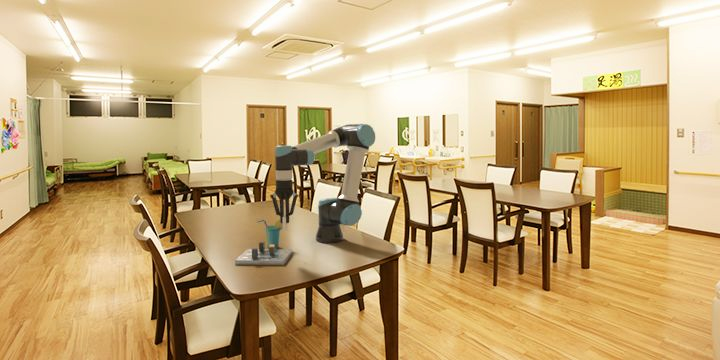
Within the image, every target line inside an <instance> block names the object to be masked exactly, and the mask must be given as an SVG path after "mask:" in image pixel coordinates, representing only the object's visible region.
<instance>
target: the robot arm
mask: <svg viewBox="0 0 720 360" xmlns="http://www.w3.org/2000/svg"><path fill="white" fill-rule="evenodd" d="M375 141H376V132H375V130H374V128H373V127H372V126H371V125H369V124H367V123H359V124H358V123H352V124H345V125H342V126H339V127H336V128H334V129H332V130H329V131H328V133H326V134H324V135H323V134H322V135H321V136H318V137H315V138H313V139H309V140H306V141H304V142H301V143H299V144H295V145H293V146H292V145H276V146H275V149H274V151H275V152H274V160H275V161H274V163H275V164H274V165H275V179H276V180H275V191H274V193H272V194H270V196H269V197H270V198H271V200H272V203H273V207H274V211H275V214H276V216H279V220H280V222H281V223H283V229H282V231H283V232H285V231H287V230H288V224H289V223H290V216H292V215H293V214H294V211H295V207H296V203H297V199H298V197H299V196H300V195H299V194H297V193H296V192H295V191H294V189H293V188H294V187H293V186H294V185H293V167H294V166H295V167H296V166H297V167H298V166H310V165H313V163H314V162H315V154H319V153H320V152H323V151H325V150H328V149H330V148H339V147H344V146H346V148H347V150H348V155H347V161H346V167H345V172H344V178H343V182H342V188H341V194H340V195H339V196H338V197H331V198H330V197H329V198H322V199H319V200H318V206H317V207H318V209H317V210H318V211H317V212H318V228H317V231H316V234H315V241H316V242H318V243H324V244H329V243H330V244H331V243H333V244H334V243H338V242H342V241H344V234H343V231H342V228H341V225H343V226H349V227H353V226H355V225H356V224H358V223H359V221H360V220H361V218H362V214H363V213H362V212H363V211H362V208H361V206H360V204H359V203H360V200H359V198H358V195H359V189H360V183H361V179H362V178H361V177H362V172H363V166H364V161H365V157H366V154H367V153H368V152H369V150H370V147H371V146H373V145H374V144H375ZM291 197H292V201H291V204H290V199H291ZM277 198H278V199H279V204H278V200H277ZM284 202H285V203H284ZM290 205H291V206H290ZM284 208H285V209H284ZM284 210H285V211H284Z"/></svg>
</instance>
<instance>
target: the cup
mask: <svg viewBox="0 0 720 360" xmlns="http://www.w3.org/2000/svg"><path fill="white" fill-rule="evenodd" d="M261 222H262V223H264V225H265V228H264V230H265V232H266V233H265V235H266V242H267V249H269V246H270V245H275V249H278V248H279V245H280V231H281V230H283V223H281V222H280V219H279V220H276V222H275V223H274V225H268V224H267V221H266V219H260V220H257V221H256V223H261Z"/></svg>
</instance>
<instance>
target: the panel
mask: <svg viewBox="0 0 720 360" xmlns="http://www.w3.org/2000/svg"><path fill="white" fill-rule="evenodd" d="M265 243H266V242H265V241H259V242H258V247H253V248H247V249H246V250H245V251H244V252H243V253H241V254H240V255H239V256H238V257H237V258H235V260H234V265H239V266H241V265H242V266H243V265H245V266H250V265H251V266H255V265H256V266H285V264H287V262H288V260H289V259H290V257H291V256H292V255H293V249H288V248H287V249H285V248H284V249H283V248H282V249H281V248H279V249H278V248H275V254H274V255H269V248H265V247H266V246H265Z"/></svg>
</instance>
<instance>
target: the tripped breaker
mask: <svg viewBox="0 0 720 360" xmlns="http://www.w3.org/2000/svg"><path fill="white" fill-rule="evenodd" d="M268 249H269V255H274V254H275V249H276V248H275V245H270V246H269V248H268Z"/></svg>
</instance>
